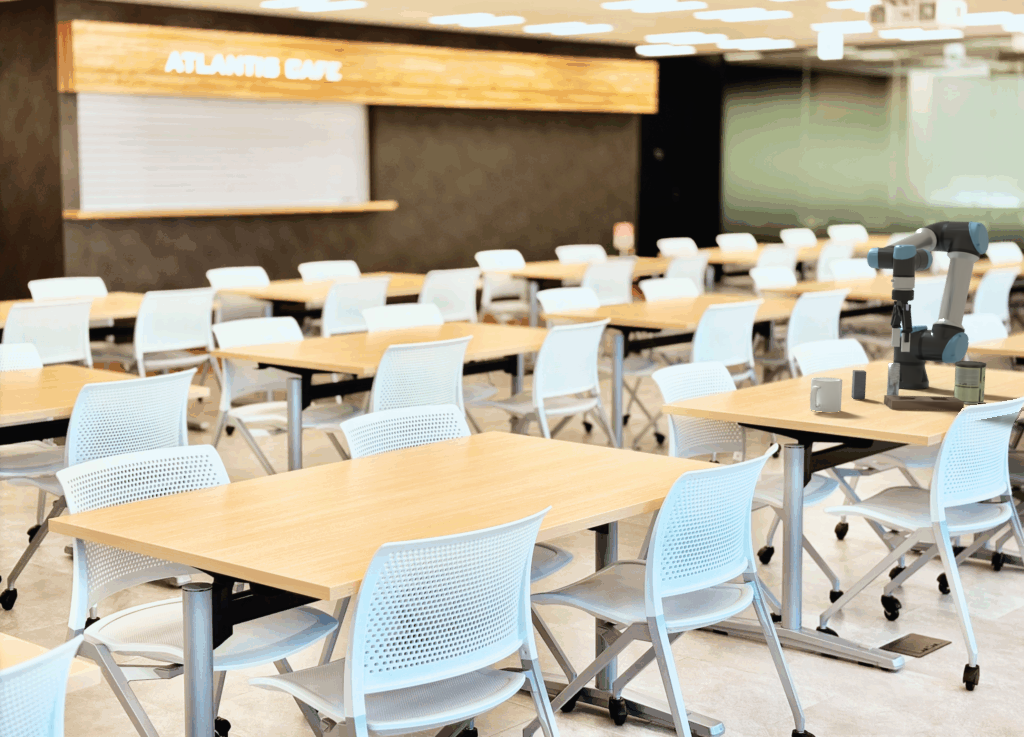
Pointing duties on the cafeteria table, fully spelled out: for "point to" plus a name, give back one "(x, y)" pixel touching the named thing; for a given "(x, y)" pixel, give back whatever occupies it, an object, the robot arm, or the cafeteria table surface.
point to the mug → (826, 394)
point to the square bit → (858, 384)
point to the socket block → (923, 403)
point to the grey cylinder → (893, 379)
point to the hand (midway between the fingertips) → (900, 349)
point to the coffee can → (970, 381)
